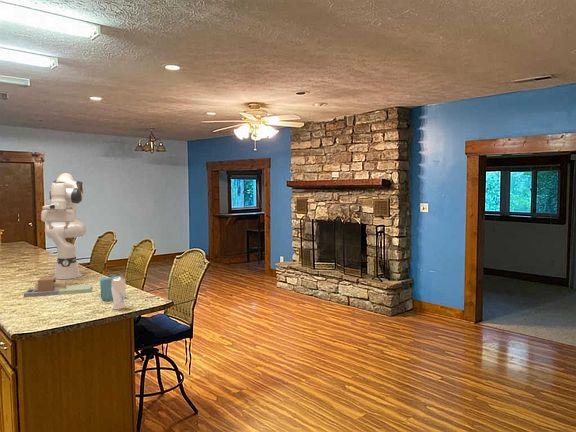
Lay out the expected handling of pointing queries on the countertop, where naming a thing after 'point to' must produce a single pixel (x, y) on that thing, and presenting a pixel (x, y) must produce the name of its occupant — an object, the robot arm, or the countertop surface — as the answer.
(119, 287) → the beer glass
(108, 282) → the data package
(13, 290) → the countertop surface
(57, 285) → the birch bar
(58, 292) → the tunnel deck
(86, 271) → the countertop surface
